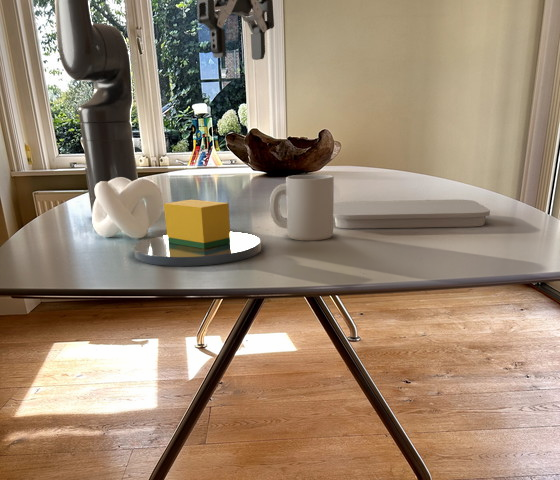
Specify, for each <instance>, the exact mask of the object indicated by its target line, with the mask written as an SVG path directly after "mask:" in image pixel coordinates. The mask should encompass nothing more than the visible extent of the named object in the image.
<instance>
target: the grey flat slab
mask: <svg viewBox="0 0 560 480" xmlns="http://www.w3.org/2000/svg"><path fill="white" fill-rule="evenodd" d="M490 215H491V209H490V208H487V207H486V206H484V205H482V204H481V203H479V202H477V201H475V200H471V199H416V200H415V199H412V200H410V199H409V200H364V201H363V200H362V201H358V200H357V201H337V202H333V219H334V222H335V227H336V228H338V229H353V230H355V229H394V228H395V229H403V228H404V229H406V228H407V229H408V228H409V229H411V228H413V229H415V228H464V227H468V228H469V227H482V226H484V225H485V224H486V223H485V220H486V217H487V216H490Z"/></svg>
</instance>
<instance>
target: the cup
mask: <svg viewBox="0 0 560 480" xmlns="http://www.w3.org/2000/svg"><path fill="white" fill-rule="evenodd" d="M334 183H335V181H334V175H331V174H296V175H288V176H286V177H285V183H281V184H279V185H277V186H275V188H274V189H273V190H272V192H271V194H270V197H269V213H270V217H271V219H272V221H273V223H274V224H275V225H276V226H277V227H278V228H282V229H286V231H287V236H288V237H289V239H292V240H296V241H321V240H327V239H330V238H332V237H333V235H334V218H333V203H334V194H335V191H334V188H335V187H334ZM284 195H286V217H283V215H282V213H281V206H280V205H281V199H282V196H284Z"/></svg>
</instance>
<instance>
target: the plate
mask: <svg viewBox="0 0 560 480" xmlns="http://www.w3.org/2000/svg"><path fill="white" fill-rule="evenodd" d="M230 236H231V237H230V238H231V243H229V244H224V245H220V246H216V247H211V248H207V249H202V248H196V247H190V246H184V245H178V244H173V243H168V239H167V234H166V235H161V236H156V237H151V238H148V239H145V240H142V241H140V242H138V243H136V244H135V245H134V246H133V254H134V258H135V259H136V260H137V261H139V262H141V263H145V264H150V265H154V266H155V265H156V266H166V267H200V266H212V265H220V264H226V263H227V264H228V263H232V262H238V261H242V260H245V259H249V258H252V257H255V256H256V255H258V254H259V253H260V252H261V251H262V240H261V239H260V238H259V237H257V236H255V235H252V234H248V233H242V232H233V231H230Z"/></svg>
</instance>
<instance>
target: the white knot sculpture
mask: <svg viewBox="0 0 560 480" xmlns="http://www.w3.org/2000/svg"><path fill="white" fill-rule="evenodd" d="M95 196H96V199H95V202H94V206H93V212H92V211H91V222H92V227H93V229H94V230H95V232H96V234H98V235H99V236H102V237H104V238H111V237H112V238H113V237H115V236H116V235H118V234H119V233H120V232H123V233H124V234H125V235H126V236H128V237H130V238H131V239H142V238H144V237H145V236H147V234H148V232H149V229H151V228H152V227H154V225H156V223H157V222H158V221H159V220H160V218H161V215H162V214H163V210H164V197H163V193H162V190H161V188H160V187H159V186H158V185H157V184H156V183H155V182H154V181H153V180H152V179H148V178H138V179H137V180H134V181H130V180H129V179H127V178H123V177H118V178H114V179H112V180H110V181H108V182H107V181H100V182H99V183H97V184H96V186H95Z"/></svg>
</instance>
